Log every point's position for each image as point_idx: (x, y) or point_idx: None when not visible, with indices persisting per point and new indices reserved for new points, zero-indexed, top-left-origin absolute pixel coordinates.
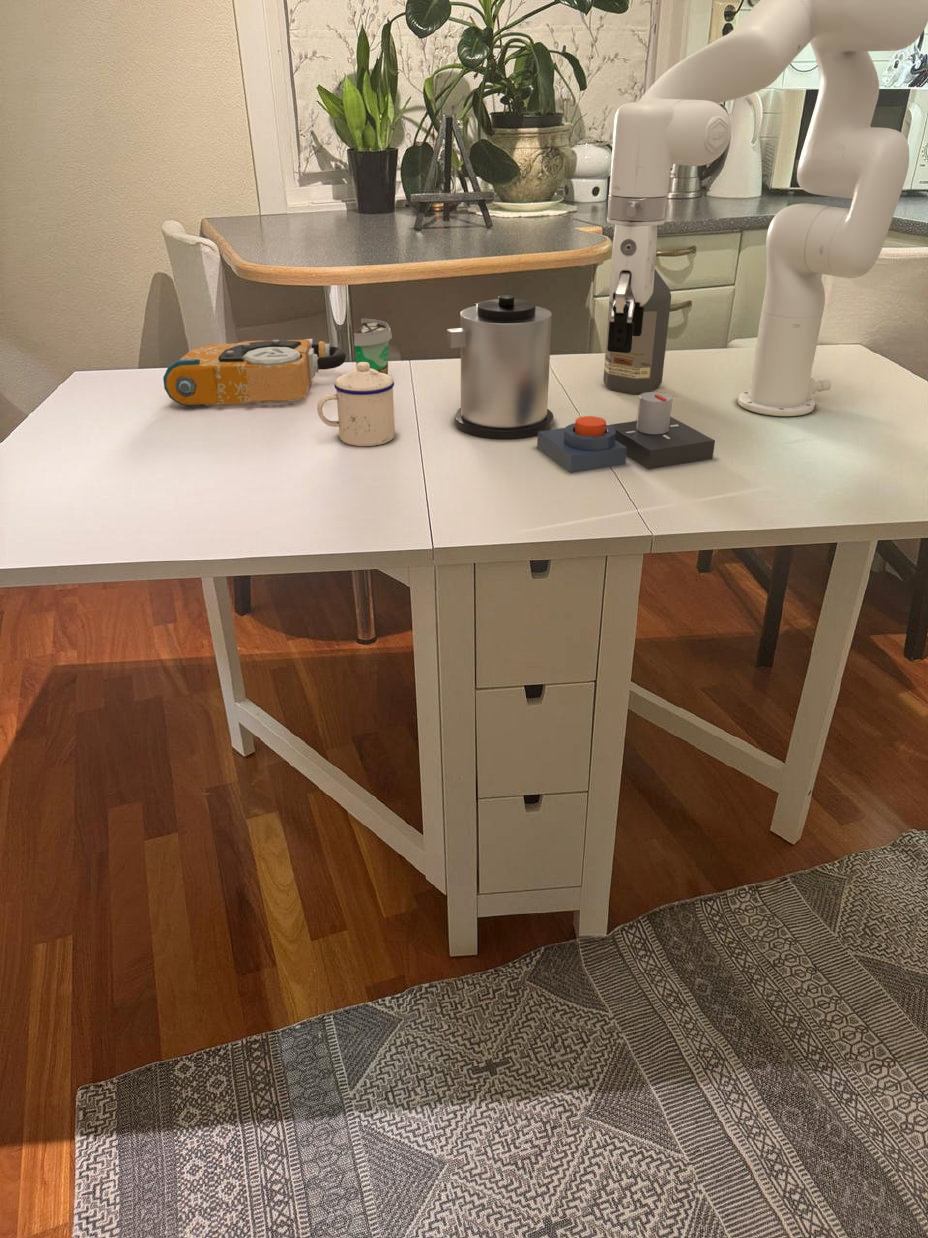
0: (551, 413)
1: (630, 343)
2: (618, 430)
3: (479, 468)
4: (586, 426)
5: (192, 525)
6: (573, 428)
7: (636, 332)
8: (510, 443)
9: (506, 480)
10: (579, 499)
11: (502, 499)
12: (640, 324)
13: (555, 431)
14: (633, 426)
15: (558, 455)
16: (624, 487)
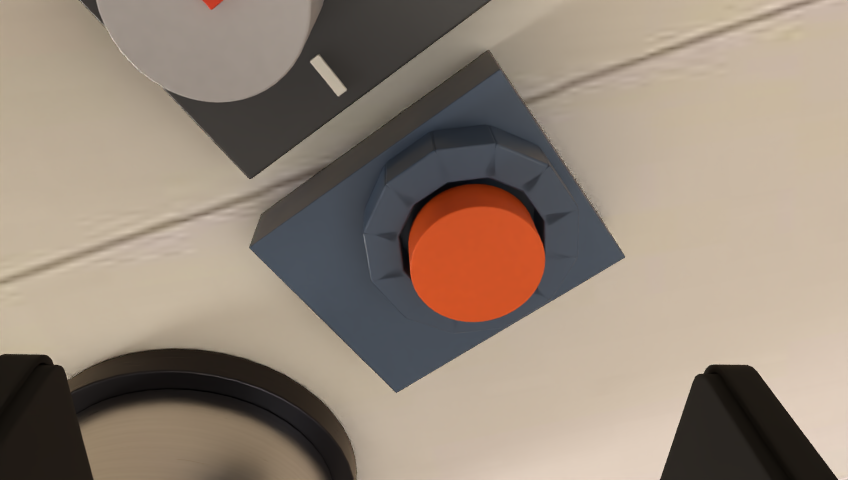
0: (104, 382)
1: (791, 424)
2: (313, 130)
3: (589, 446)
4: (543, 271)
5: None
6: None
7: (56, 407)
8: (370, 423)
9: (673, 374)
10: (824, 164)
11: (811, 355)
12: (2, 449)
13: (379, 344)
14: None
15: None
16: (719, 27)
